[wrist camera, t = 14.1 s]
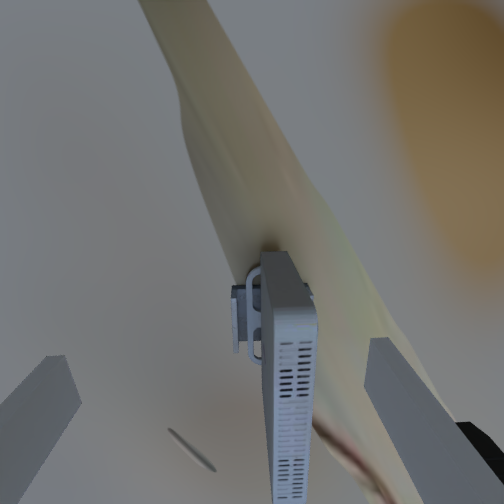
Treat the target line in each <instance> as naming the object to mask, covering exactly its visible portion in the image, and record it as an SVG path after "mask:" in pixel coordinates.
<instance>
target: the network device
mask: <svg viewBox="0 0 504 504" xmlns="http://www.w3.org/2000/svg"><path fill="white" fill-rule="evenodd" d="M256 275H261V310H257V309H255V308H254V307H253V301H252V280H253V278H254V277H255V276H256ZM246 300H247V333H248V355H249V357H250V359H251V360H252V361H253V362H254V363H256V364H258V365H262V391H263V392H262V393H263V404H264V415H265V426H266V438H267V449H268V460H269V471H270V482H271V494H272V503H273V504H306V499H307V484H308V469H309V455H310V439H311V425H312V411H313V396H314V381H315V367H316V352H317V337H318V319H317V313H316V309H315V306H314V303H313V301H312V299H311V297H310V296H309V294H308V292H307V290H306V288H305V286H304V284H303V282H302V280H301V278H300V276H299V274H298V272H297V270H296V268H295V266H294V264H293V262H292V260H291V258H290V256H289V254H288V252H287V251H275V252H261V266H258V267H256V268H254V269H252V270H251V271H250V272H249V274H248V276H247V279H246ZM259 327H260V328H261V345H262V346H261V348H262V357H256V356H255V355H254V349H253V347H254V346H253V332H254V330H255V329H256V328H259Z"/></svg>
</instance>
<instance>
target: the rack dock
mask: <svg viewBox="0 0 504 504" xmlns="http://www.w3.org/2000/svg"><path fill="white" fill-rule="evenodd" d="M303 284H304V286H305V288H306V290H307V292H308V294H309V296H310V297H311V299H312V301H313V297H314V295H313V294H312V292H311V290H310V288H309V286H308V284H307V283H303ZM252 301H253V307H254V308H255V309H257V310H261V285H252ZM231 310H232V330H233V350H234V353H238V352H239V341H248V333H247V300H246V285H233V286H232V291H231ZM260 340H261V328H260V327H259V328H256V329H255V330H254V332H253V341H260Z"/></svg>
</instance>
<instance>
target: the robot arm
mask: <svg viewBox="0 0 504 504" xmlns="http://www.w3.org/2000/svg"><path fill="white" fill-rule="evenodd" d="M364 388H365V390H366V392H367V393H368V395H369V397H370V399H371V401H372V403H373V405H374V407H375V409H376V411H377V413H378V415H379V417H380V419H381V421H382V423H383V425H384V427H385V428H386V430H387V432H388V434H389V436H390V438H391V440H392V442H393V444H394V446H395V448H396V450H397V452H398V454H399V456H400V458H401V460H402V461H403V463H404V465H405V467H406V469H407V471H408V473H409V475H410V477H411V479H412V481H413V483H414V485H415V487H416V489H417V491H418V493H419V495H420V496H421V498H422V500H423V502H424V504H504V453H503V452H502V451H501V450H500V448H499V447H498V446H497V445H496V444H495V443H494V441H493V440H492V439H491V438H490V437H489V436H488V435H486V434H485V433H484V432H483V431H481V430H480V429H478V428H477V427H476V426H475V425H473V424H472V423H471V422H454V421H453V420H452V418H451V417H450V416H449V415H448V413H447V412H446V411H445V409H444V408H443V407H442V406H441V404H440V403H439V402H438V400H437V399H436V398H435V397H434V395H433V394H432V393H431V391H430V390H429V389H428V388H427V386H426V385H425V384H424V383H423V381H422V380H421V379H420V377H419V376H418V375H417V374H416V372H415V371H414V370H413V368H412V367H411V366H410V365H409V363H408V362H407V361H406V359H405V358H404V357H403V356H402V354H401V353H400V352H399V351H398V349H397V348H396V347H395V345H394V344H393V343H392V342H391V340H390V339H389V338H388V337H385V338H371V340H370V347H369V354H368V361H367V368H366V375H365V382H364ZM81 404H82V402H81V399H80V396H79V393H78V391H77V388H76V385H75V382H74V379H73V377H72V374H71V371H70V368H69V366H68V363H67V360H66V357H65V355H61V356H46V357H45V359H44V360H43V361H42V362H41V363H40V364H39V365H38V366H37V367H36V368H35V369H34V370H33V371H32V372H31V373H30V374H29V375H28V376H27V377H26V378H25V379H24V380H23V381H22V383H21V384H20V385H19V386H18V387H17V388H16V389H15V390H14V391H13V392H12V393H11V394H10V395H9V396H8V397H7V398H6V399H5V400H4V401H3V402H2V403H1V404H0V504H18V502H19V501H20V499H21V498H22V496H23V494H24V493H25V491H26V490H27V488H28V487H29V485H30V483H31V482H32V480H33V479H34V477H35V476H36V474H37V472H38V471H39V469H40V468H41V466H42V465H43V463H44V462H45V460H46V458H47V457H48V455H49V454H50V452H51V451H52V449H53V447H54V446H55V444H56V443H57V441H58V440H59V438H60V436H61V435H62V433H63V432H64V430H65V429H66V427H67V426H68V424H69V422H70V421H71V419H72V418H73V416H74V414H75V413H76V412H77V410H78V408H79V407H80V405H81Z"/></svg>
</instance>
